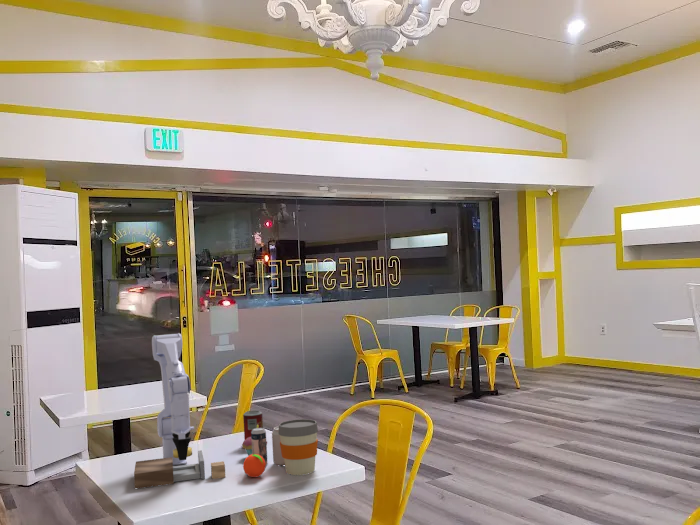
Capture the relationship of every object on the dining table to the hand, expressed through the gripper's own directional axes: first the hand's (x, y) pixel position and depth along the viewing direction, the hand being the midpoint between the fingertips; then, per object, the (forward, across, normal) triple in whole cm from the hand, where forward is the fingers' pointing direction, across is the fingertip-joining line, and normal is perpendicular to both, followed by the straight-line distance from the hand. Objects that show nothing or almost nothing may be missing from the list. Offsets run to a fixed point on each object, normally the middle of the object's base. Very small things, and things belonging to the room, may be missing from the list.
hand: (182, 457), depth 211 cm
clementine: (+6, -12, -22) cm, 25 cm away
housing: (+6, 0, +8) cm, 10 cm away
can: (+6, -1, -32) cm, 33 cm away
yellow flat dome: (-1, 0, 0) cm, 1 cm away
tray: (+6, 0, -1) cm, 6 cm away
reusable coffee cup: (+6, -12, -36) cm, 38 cm away
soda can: (+6, +30, -26) cm, 41 cm away
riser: (+6, -6, -10) cm, 13 cm away
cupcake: (+6, +12, -24) cm, 28 cm away
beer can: (+6, 0, -24) cm, 25 cm away
